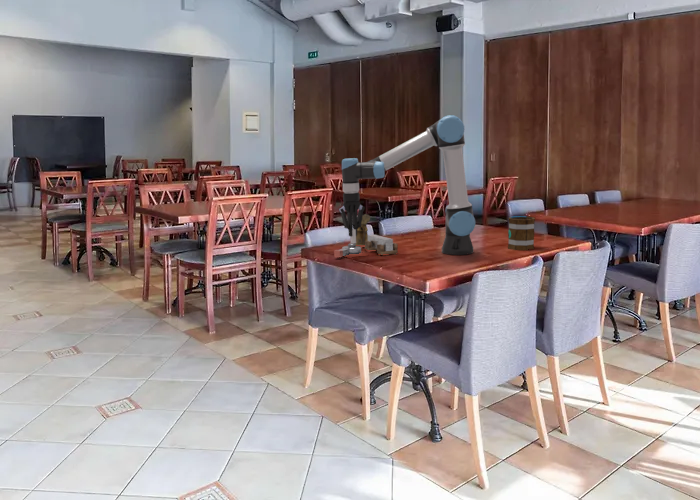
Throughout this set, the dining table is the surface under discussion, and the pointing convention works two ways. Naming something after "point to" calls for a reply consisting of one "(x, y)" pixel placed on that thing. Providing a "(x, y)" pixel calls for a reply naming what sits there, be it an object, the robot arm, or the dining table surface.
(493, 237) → the dining table surface
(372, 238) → the steel bar
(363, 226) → the bronze figurine
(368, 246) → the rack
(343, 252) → the silver lever handle
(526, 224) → the mug
